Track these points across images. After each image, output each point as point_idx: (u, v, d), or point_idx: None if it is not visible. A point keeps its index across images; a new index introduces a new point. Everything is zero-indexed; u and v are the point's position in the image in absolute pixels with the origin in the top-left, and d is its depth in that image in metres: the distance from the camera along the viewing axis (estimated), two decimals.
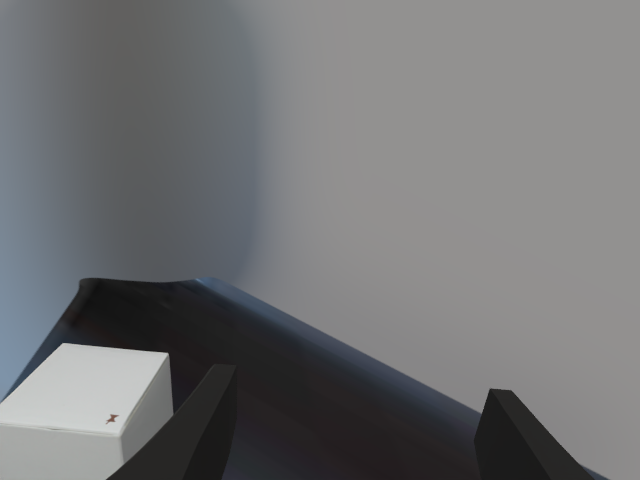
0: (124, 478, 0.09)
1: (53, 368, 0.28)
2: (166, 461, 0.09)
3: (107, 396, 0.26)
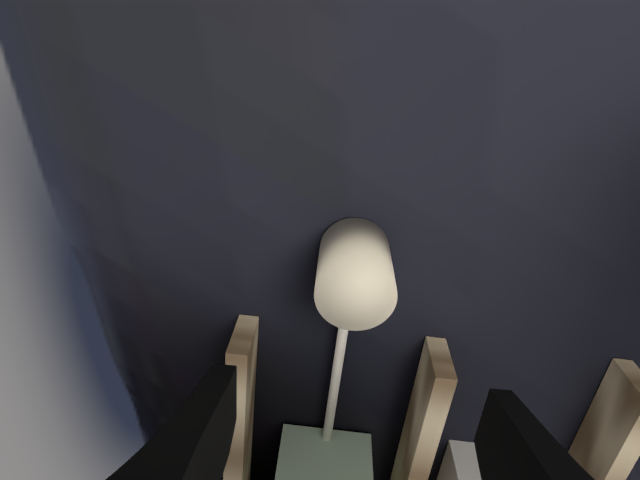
0: (124, 478, 0.09)
1: None
2: (166, 461, 0.09)
3: None
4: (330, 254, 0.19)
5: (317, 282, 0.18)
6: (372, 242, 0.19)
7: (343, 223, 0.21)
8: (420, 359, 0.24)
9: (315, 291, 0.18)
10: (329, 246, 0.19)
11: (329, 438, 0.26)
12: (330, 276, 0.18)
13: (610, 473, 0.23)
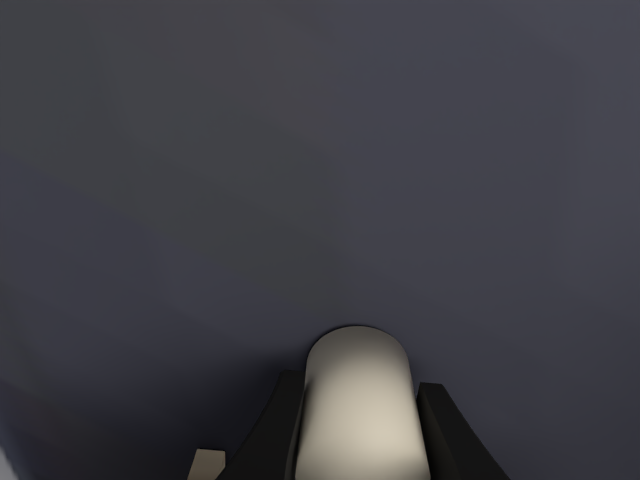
0: None
1: None
2: (262, 470, 0.09)
3: None
4: (320, 407, 0.12)
5: (300, 462, 0.11)
6: (386, 381, 0.12)
7: (340, 338, 0.14)
8: None
9: (297, 475, 0.11)
10: (320, 386, 0.12)
11: None
12: (320, 455, 0.11)
13: None
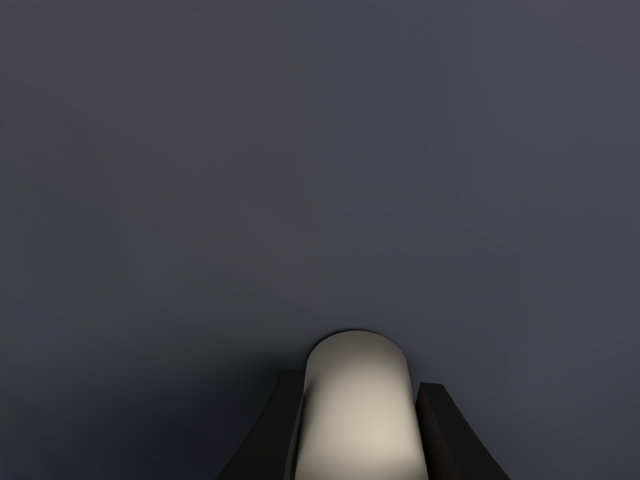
0: None
1: None
2: (262, 470, 0.09)
3: None
4: (319, 412, 0.12)
5: (299, 467, 0.11)
6: (385, 386, 0.12)
7: (339, 342, 0.14)
8: None
9: None
10: (319, 391, 0.12)
11: None
12: (320, 460, 0.11)
13: None
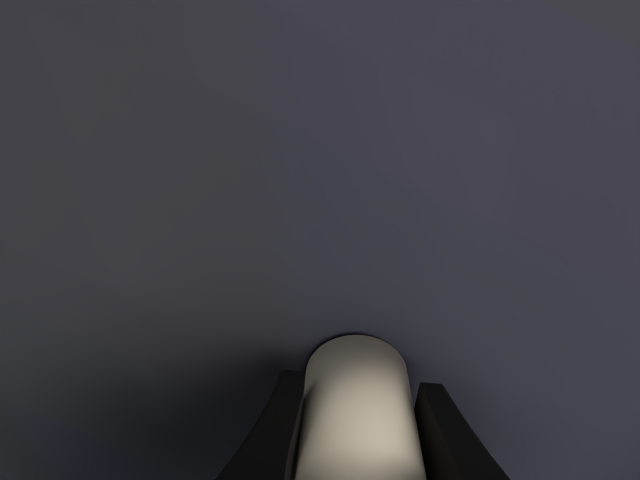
0: None
1: None
2: (262, 470, 0.09)
3: None
4: (319, 416, 0.12)
5: (299, 472, 0.11)
6: (384, 390, 0.12)
7: (339, 346, 0.14)
8: None
9: None
10: (319, 395, 0.13)
11: None
12: (319, 465, 0.11)
13: None
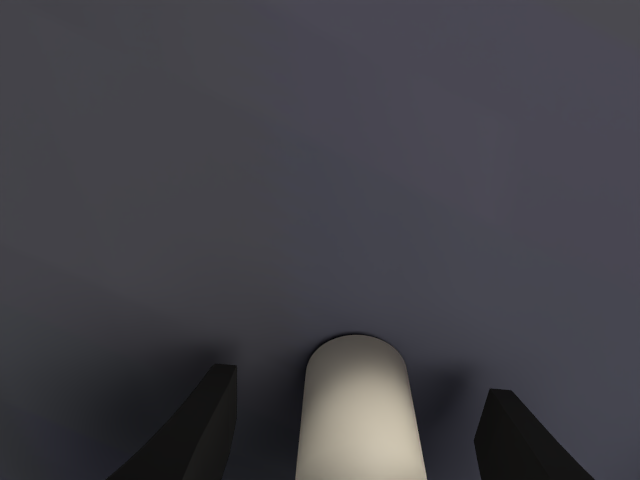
0: (124, 478, 0.09)
1: None
2: (166, 461, 0.09)
3: None
4: (319, 416, 0.12)
5: (299, 472, 0.11)
6: (385, 390, 0.12)
7: (339, 346, 0.14)
8: None
9: None
10: (319, 395, 0.13)
11: None
12: (319, 464, 0.11)
13: None
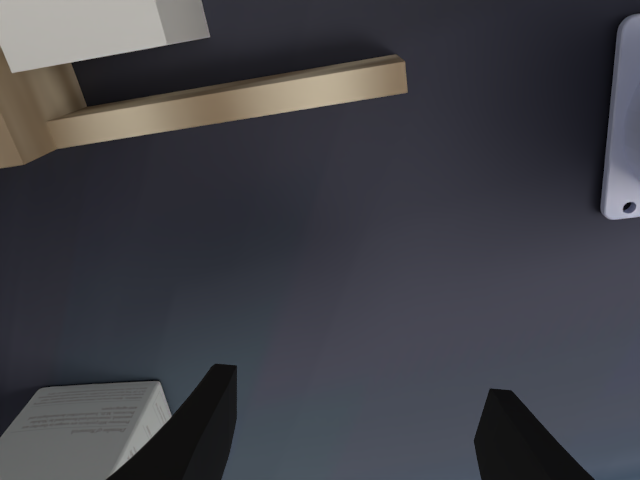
0: (124, 478, 0.09)
1: None
2: (166, 461, 0.09)
3: None
4: None
5: None
6: None
7: None
8: None
9: None
10: None
11: None
12: None
13: (266, 89, 0.16)
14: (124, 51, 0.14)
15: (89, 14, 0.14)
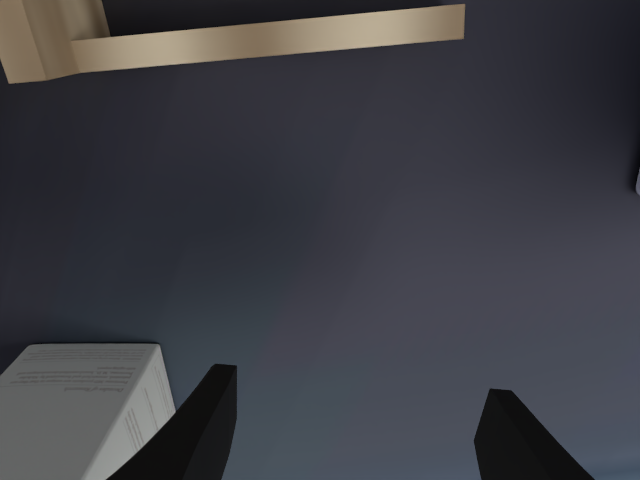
0: (124, 478, 0.09)
1: None
2: (166, 461, 0.09)
3: None
4: None
5: None
6: None
7: None
8: None
9: None
10: None
11: None
12: None
13: (314, 23, 0.15)
14: None
15: None
